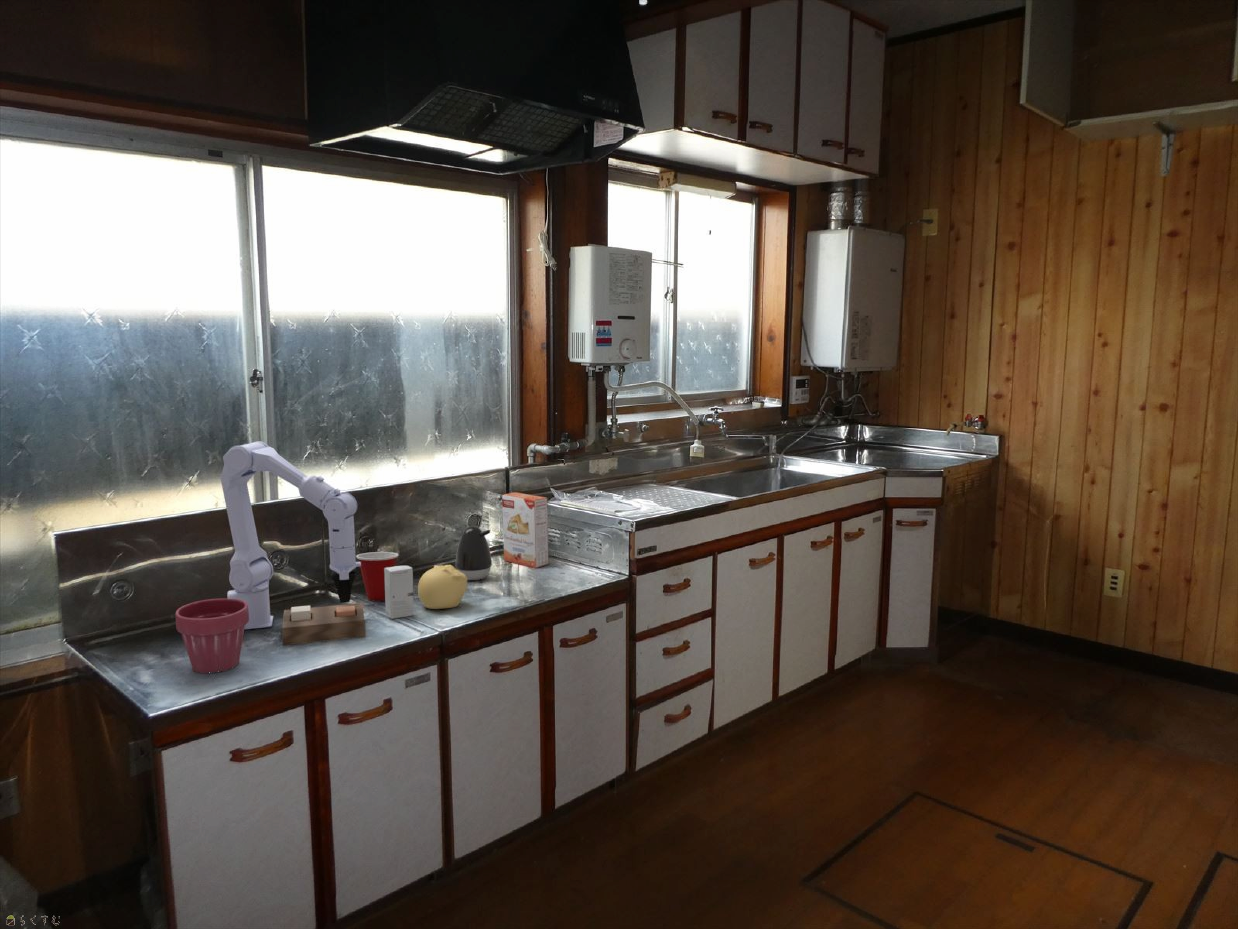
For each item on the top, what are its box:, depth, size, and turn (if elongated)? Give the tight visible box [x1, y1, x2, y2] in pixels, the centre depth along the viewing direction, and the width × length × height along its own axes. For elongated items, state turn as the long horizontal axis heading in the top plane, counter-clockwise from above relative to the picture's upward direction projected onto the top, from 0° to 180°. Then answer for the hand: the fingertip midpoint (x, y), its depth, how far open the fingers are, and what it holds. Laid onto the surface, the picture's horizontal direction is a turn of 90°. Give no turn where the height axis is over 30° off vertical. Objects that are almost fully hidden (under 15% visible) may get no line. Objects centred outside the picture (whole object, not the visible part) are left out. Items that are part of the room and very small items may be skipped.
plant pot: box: [175, 598, 249, 674], centre depth 194 cm, size 14×14×13 cm
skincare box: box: [384, 565, 415, 620], centre depth 228 cm, size 6×4×12 cm
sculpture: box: [417, 564, 468, 610], centre depth 235 cm, size 11×12×11 cm
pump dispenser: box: [455, 525, 493, 581], centre depth 261 cm, size 10×10×15 cm
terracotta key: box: [336, 606, 355, 617], centre depth 217 cm, size 4×4×4 cm
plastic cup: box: [355, 551, 399, 602], centre depth 242 cm, size 11×11×12 cm
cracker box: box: [501, 492, 549, 569], centre depth 277 cm, size 14×6×21 cm, turn 50°
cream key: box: [290, 605, 311, 621], centre depth 214 cm, size 4×4×4 cm
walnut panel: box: [281, 602, 366, 646], centre depth 216 cm, size 18×14×4 cm
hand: (344, 601), depth 217 cm, fingers closed
